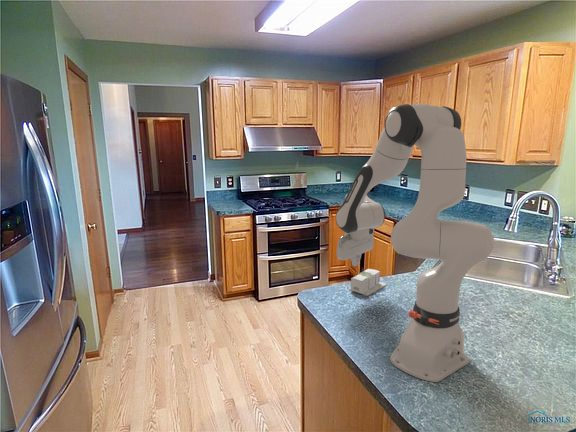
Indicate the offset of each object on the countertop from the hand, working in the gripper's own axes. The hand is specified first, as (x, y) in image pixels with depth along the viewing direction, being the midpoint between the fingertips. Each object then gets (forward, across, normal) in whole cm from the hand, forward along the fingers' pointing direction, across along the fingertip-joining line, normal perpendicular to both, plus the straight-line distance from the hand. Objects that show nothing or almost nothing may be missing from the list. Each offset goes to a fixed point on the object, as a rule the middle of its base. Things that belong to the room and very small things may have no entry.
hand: (355, 265), depth 138 cm
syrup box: (+9, 0, 0) cm, 9 cm away
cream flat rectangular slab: (+12, +9, 0) cm, 16 cm away
